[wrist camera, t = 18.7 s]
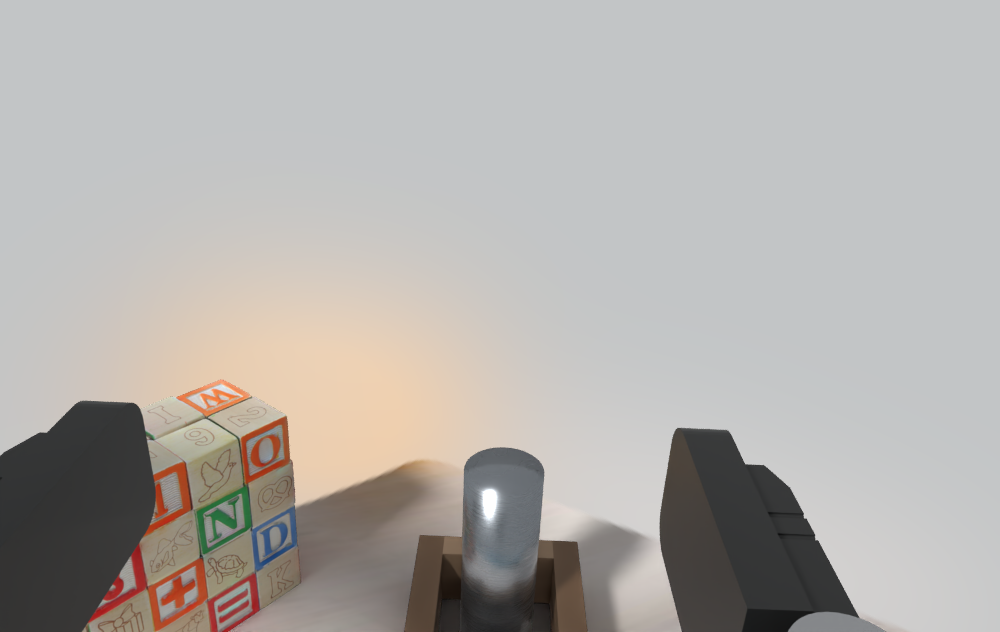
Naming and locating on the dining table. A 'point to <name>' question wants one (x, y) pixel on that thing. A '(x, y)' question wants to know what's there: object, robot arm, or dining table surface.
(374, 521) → the dining table surface
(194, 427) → the stack of blocks
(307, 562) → the dining table surface
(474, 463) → the brushed steel post
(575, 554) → the wooden square frame
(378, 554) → the dining table surface
